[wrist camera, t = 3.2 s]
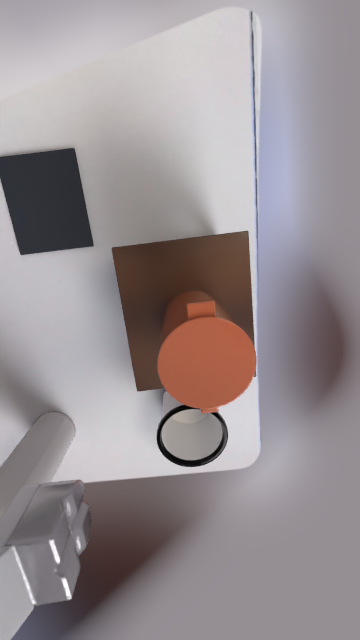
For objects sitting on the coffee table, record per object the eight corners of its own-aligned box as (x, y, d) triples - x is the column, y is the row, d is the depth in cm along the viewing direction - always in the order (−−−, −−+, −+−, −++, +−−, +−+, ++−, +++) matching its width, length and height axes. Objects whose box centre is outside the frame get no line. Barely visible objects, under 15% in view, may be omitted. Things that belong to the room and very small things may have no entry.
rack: (134, 248, 38) (111, 247, 24) (219, 237, 38) (248, 230, 24) (148, 342, 42) (137, 391, 27) (226, 332, 42) (256, 376, 27)
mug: (163, 370, 43) (162, 401, 34) (222, 378, 44) (235, 410, 35) (153, 435, 46) (149, 479, 37) (208, 441, 46) (216, 486, 38)
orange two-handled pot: (157, 285, 25) (148, 309, 15) (221, 278, 25) (253, 296, 15) (168, 366, 27) (167, 433, 17) (227, 358, 27) (259, 421, 17)
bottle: (59, 453, 46) (-99, 743, 19) (26, 430, 45) (-194, 708, 18) (83, 427, 45) (-49, 697, 18) (50, 404, 44) (-145, 656, 17)
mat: (-3, 159, 35) (-6, 157, 34) (74, 149, 35) (73, 147, 34) (22, 254, 38) (20, 254, 37) (93, 245, 38) (92, 245, 37)
